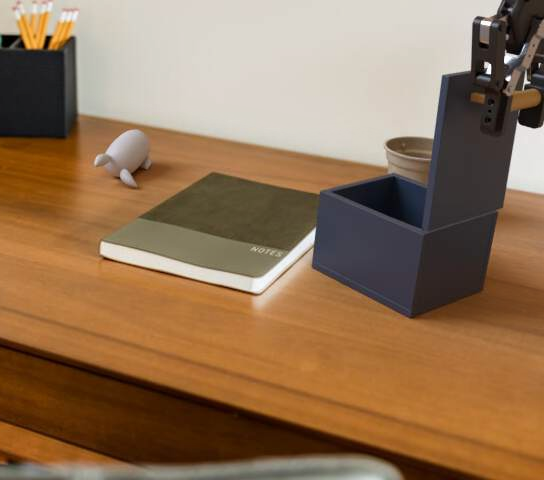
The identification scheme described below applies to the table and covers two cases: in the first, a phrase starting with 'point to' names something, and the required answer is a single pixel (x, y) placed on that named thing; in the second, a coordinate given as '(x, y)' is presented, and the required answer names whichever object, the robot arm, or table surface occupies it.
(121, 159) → the grey animal figurine
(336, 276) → the chest
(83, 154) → the table surface
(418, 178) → the flower pot
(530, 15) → the robot arm
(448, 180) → the lid
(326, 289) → the table surface
